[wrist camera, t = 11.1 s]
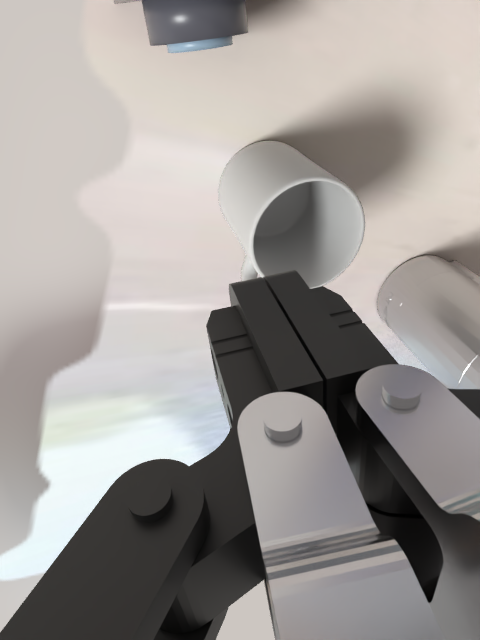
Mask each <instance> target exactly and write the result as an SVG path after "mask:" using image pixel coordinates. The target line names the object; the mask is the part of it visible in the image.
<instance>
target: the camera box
mask: <svg viewBox="0 0 480 640" xmlns="http://www.w3.org/2000/svg"><path fill="white" fill-rule="evenodd" d="M134 1H141V0H114V3H115V4H118V3H126V2H134ZM142 4H143V10H144V15H145V20H146V25H147V30H148V36H149V41H150V45H151V46H155V45H167V48H168V53H179V52H189V51H197V50H205V49H211V48H218V47H223V46H228V45H232V44H233V43H232V36H234V35H239V34H244V33H248V25H247V13H246V1H245V0H142Z"/></svg>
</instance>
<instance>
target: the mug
mask: <svg viewBox="0 0 480 640" xmlns="http://www.w3.org/2000/svg"><path fill="white" fill-rule="evenodd" d="M218 200H219V205H220V209H221V212H222V214H223V217H224V218H225V220H226V222H227V223H228V225H229V226H230V228H231V229H232V231H233V233H234V234H235V236H236V238H237V239H238V241H239V243H240V245H241V246H242V248H243V250H244V252H245V253H246V256H245V259H244V262H243V265H242V269H241V281H246V280H250V279H255V278H257V274H259V275H260V276H261V277H262V278H263V277H264V276H268V275H273V274H278V273H282V272H287V271H292V270H296V271H297V272H298V273H299V274H300V276H301V277H302V279H303V280H304V281H305V283H306V284H307V285H308V287H309V288H310V289H312V288H317V287H321V286H323V285H325V284H327V283H329V282H331V281H332V280H334V279H335V278H337V277H338V276H339V275H340V274H341V273H342V272H344V271H345V269H346V268H347V267H348V266H349V265H350V264H351V262H352V261H353V260H354V258H355V256H356V255H357V253H358V251H359V248H360V246H361V243H362V240H363V236H364V231H365V217H364V212H363V208H362V205H361V203H360V201H359V199H358V197H357V196H356V194H355V193H354V192H353V190H352V189H351V188H350V187H348V186H347V185H346V184H345V183H344V182H342V181H341V180H339V179H338V178H336V177H335V176H333V175H332V174H330V173H329V172H327V171H326V170H324V169H323V168H322V167H320V166H319V165H317V164H316V163H314V162H313V161H311V160H310V159H308V158H307V157H306V156H304V155H303V154H302V153H300V152H299V151H298V150H296V149H295V148H293V147H292V146H289V145H287V144H285V143H282V142H278V141H261V142H257V143H253V144H251V145H249V146H246V147H245V148H243V149H242V150H240V151H239V152H238V153H237V154H235V155H234V156H233V158H232V159H231V160H230V161H229V162H228V164H227V165H226V167H225V169H224V171H223V173H222V175H221V178H220V182H219V188H218Z"/></svg>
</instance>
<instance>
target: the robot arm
mask: <svg viewBox="0 0 480 640" xmlns="http://www.w3.org/2000/svg"><path fill="white" fill-rule="evenodd" d="M229 294H230V301H231V307H227V308H223V309H218V310H213V311H212V312H211V314H210V317H209V320H208V323H207V326H206V327H207V333H208V338H209V343H210V348H211V354H212V359H213V364H214V370H215V375H216V380H217V383H218V387H219V390H220V394H221V397H222V401H223V404H224V408H225V410H226V415H227V418H228V421H229V425H230V428H231V429H230V432H229V434H228V435H227V437H226V439H225V440H224V441H223V443H222V444H221V445H220V446H219V447H218V448H217V449H216V450H214V451H213V452H212V453H210V454H209V455H207V456H206V457H204V458H203V459H201V460H199V461H198V462H196V463H194V464H193V465H191V466H187V465H186V464H184V463H182V462H179V461H176V460H171V459H156V460H151V461H147V462H144V463H141V464H139V465H137V466H135V467H133V468H131V469H129V470H128V471H127V472H125V473H124V474H122V475H121V476H120V477H119V478H118V479H117V480H116V481H115V482H114V483H113V485H112V486H111V487H110V488H109V490H108V491H107V492H106V493H105V495H104V496H103V497H102V499H101V500H100V501H99V503H98V504H97V505H96V507H95V508H94V509H93V511H92V512H91V513H90V515H89V516H88V517H87V519H86V520H85V521H84V523H83V524H82V525H81V527H80V528H79V529H78V531H77V532H76V533H75V535H74V536H73V537H72V539H71V540H70V541H69V542H68V544H67V545H66V546H65V548H64V549H63V550H62V552H61V553H60V554H59V556H58V557H57V558H56V560H55V561H54V562H53V564H52V565H51V566H50V568H49V569H48V570H47V572H46V573H45V574H44V576H43V577H42V578H41V580H40V581H39V582H38V584H37V585H36V586H35V588H34V589H33V590H32V592H31V593H30V594H29V595H28V597H27V598H26V600H25V601H24V603H22V605H21V606H20V607H19V609H18V610H17V611H16V613H15V614H14V615H13V617H12V618H11V619H10V621H9V622H8V623H7V625H6V626H5V627H4V629H3V630H2V631H1V632H0V640H216V637H217V634H218V632H219V630H220V628H221V625H222V623H223V621H224V618H225V616H226V613H227V610H228V607H229V606H230V605H231V604H233V603H234V602H235V601H237V600H238V599H239V598H240V597H242V596H243V595H244V594H246V593H247V592H248V591H250V590H251V589H252V588H253V587H255V586H256V585H257V584H259V583H260V582H261V581H263V580H264V584H265V589H266V594H267V600H268V605H269V610H270V615H271V620H272V626H273V631H274V636H275V640H480V277H479V276H478V275H477V274H475V273H474V272H472V271H471V270H469V269H468V268H466V267H465V266H463V265H462V264H460V263H459V262H457V261H451V262H448V261H446V260H444V259H442V258H440V257H437V256H433V255H425V256H420V257H416V258H414V259H411V260H409V261H407V262H405V263H404V264H402V265H400V266H399V267H398V268H397V269H396V270H394V271H393V272H392V273H391V275H390V276H389V277H388V278H387V279H386V281H385V282H384V284H383V286H382V287H381V290H380V292H379V295H378V300H377V310H378V313H379V316H380V317H381V319H382V320H383V321H384V322H385V324H386V325H387V326H388V327H389V328H390V329H391V330H392V331H393V332H394V333H395V335H396V336H397V337H398V338H399V339H400V340H401V341H402V342H403V343H404V345H405V346H406V347H407V348H408V349H409V350H410V351H411V352H412V353H413V354H414V355H415V356H416V358H417V359H418V360H419V361H420V362H421V363H422V364H423V365H424V366H425V367H426V368H427V370H428V371H429V372H430V373H431V374H432V375H433V376H432V375H431V374H429V373H427V372H425V371H423V370H421V369H418V368H415V367H412V366H407V365H399V364H398V363H397V362H396V360H395V359H394V358H393V357H392V356H391V354H390V353H389V352H388V351H387V350H386V349H385V347H384V346H383V345H382V344H381V343H380V341H379V340H378V339H377V338H376V337H375V335H374V334H373V333H372V332H371V331H370V330H369V328H368V327H367V326H366V325H365V324H364V323H362V320H361V319H360V318H359V316H358V315H357V314H356V313H355V312H353V311H352V308H351V307H350V306H349V305H348V303H347V302H346V301H345V300H344V299H343V298H342V296H341V295H339V294H337V293H335V292H333V291H331V290H329V289H327V288H325V287H323V286H321V287H317V288H312V289H310V288H309V287H308V285H307V284H306V283H305V281H304V280H303V279H302V277H301V276H300V274H299V273H298V272H297V271H296V270H292V271H287V272H282V273H278V274H273V275H268V276H264V277H263V278H262V277H260V278H255V279H250V280H246V281H241V282H236V283H232V284H229Z"/></svg>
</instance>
